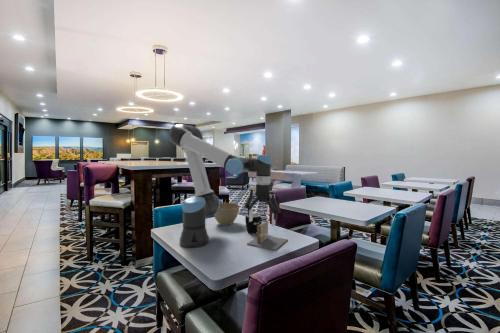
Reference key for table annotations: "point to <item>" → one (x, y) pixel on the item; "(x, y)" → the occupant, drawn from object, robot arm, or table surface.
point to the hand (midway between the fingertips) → (261, 223)
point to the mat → (269, 243)
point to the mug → (253, 223)
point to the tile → (262, 232)
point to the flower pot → (227, 213)
